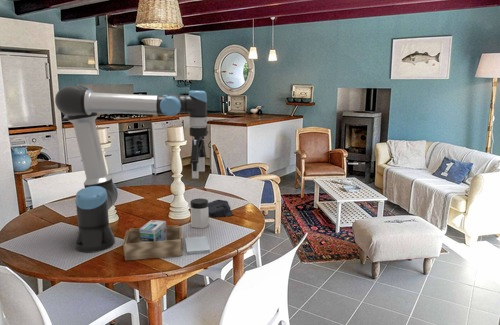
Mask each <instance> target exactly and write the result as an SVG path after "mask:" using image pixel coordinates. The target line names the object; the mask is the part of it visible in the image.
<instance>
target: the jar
mask: <svg viewBox="0 0 500 325" xmlns="http://www.w3.org/2000/svg"><path fill="white" fill-rule="evenodd" d="M208 203H209V200H208V199H206V198H201V197H200V198H194V199H191V200H190V203H189V205H190V226H191V228H192V227H195V228H194V229H200V228H201V229H204V228H208V227H209V226H210V220H209V218H210V217H209V213H208ZM207 226H208V227H207Z"/></svg>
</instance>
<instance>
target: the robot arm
mask: <svg viewBox="0 0 500 325" xmlns="http://www.w3.org/2000/svg"><path fill="white" fill-rule="evenodd" d="M207 98H208V95H207V92H206V91H205V90H189V91H188V95H187V94H185V95H183V94H162V95H157V94H156V95H154V94H137V93H136V94H135V93H133V94H131V93H129V94H128V93H111V92H109V93H108V92H94V91H93V90H92V89H90V88H89V87H87V86H83V85H68V86H67V85H66V86H64V87H62V88H60V89H58V91H57V93H56V94H55V98H54V103H55V106H56V108H57V109H58V110H59V111H60V112H61V113H62V114H63V115H66V117H67V121H68V122H70V123H71V124H72V125H73V129H74V133H75V136H76V142H77V144H78V149H79V153H80V157H81V161H82V166H83V170H84V174H85V175H84V176H85V178H86V179H85V181H84V182H83V186H84V188H81V189H79V190H78V191H77V192H76V194H75V205H76V206H75V207H76V215H77V216H76V218H77V224H78V226H77V227H78V228H77V234H76V236H75V243H74V244H75V245H74V247H75V249H76V251H78V252H81V253H96V252H100V251H104V250H107V249H110V248H112V247H113V245H115V244H116V239H115V234H114V233H113V230H112V228H111V226H110V219H109V218H110V217H109V211H110V209H111V208H112V207H113V206H114V205H115V203H116V202H117V200H118V198H119V191H118V187H117V186H116V184H115V183H113V177H112V176H111V175H109V174H108V171H107V168H106V164H105V159H104V155H103V150H102V147H101V146H102V145H101V141H100V138H99V134H98V128H97V124H96V119H97V118H98V117H99V116H98V113H99V114H101V113H103V114H104V113H105V114H125V115H126V114H129V115H131V114H132V115H135V114H136V115H159V116H168V117H174V116H177V115H178V114H188V115H189V116H188V118H189V120H188V121H189V123H188V124H189V125H188V126H190V127H189V136H190V137H193V139H192V140H191V153H190V154H191V155H190V161H189V164H191V179H196V180H197V179H199V177H200V176H199V175H200V174H199V172H204V173H205V170H206V166H205V165H206V163H205V162H206V159H205V158H206V157H207V152H206V145H205V137H206V136H208V128H207V126H208V122H209V119H208V99H207Z"/></svg>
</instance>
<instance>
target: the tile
mask: <svg viewBox="0 0 500 325" xmlns="http://www.w3.org/2000/svg"><path fill="white" fill-rule="evenodd" d="M184 241H185V249H186V250H185V251H186V255H187V256H188V255H195V254H196V255H198V254H208V253H210V252H211V248H210V245H209V241H208V237H207V236H195V237H185V240H184Z"/></svg>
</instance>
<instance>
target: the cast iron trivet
mask: <svg viewBox="0 0 500 325" xmlns="http://www.w3.org/2000/svg"><path fill="white" fill-rule="evenodd" d="M208 213H209V218H226V217H227V218H228V217H233V213H234V212H233V211H232V210H231V206H230V204H229V202H228V200H223V199H215V200H213V201H210V202H209V201H208Z"/></svg>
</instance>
